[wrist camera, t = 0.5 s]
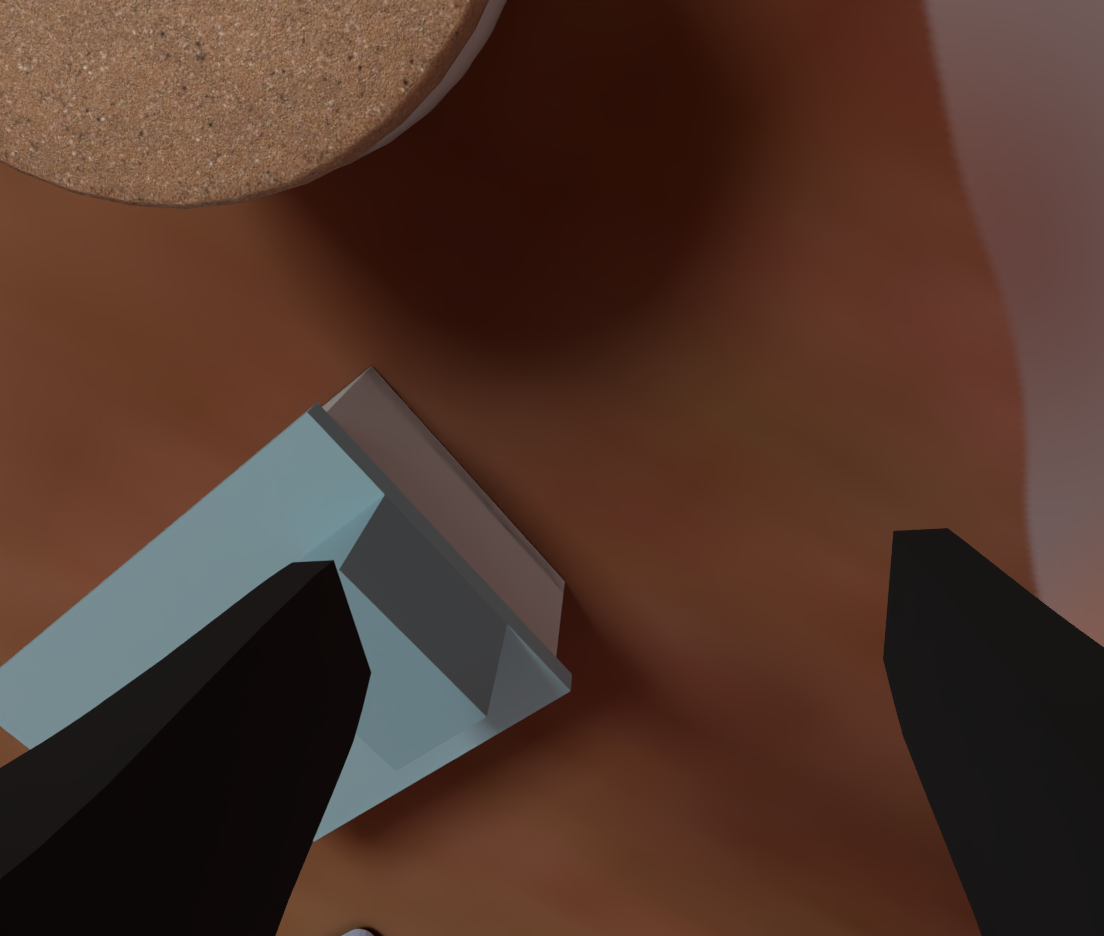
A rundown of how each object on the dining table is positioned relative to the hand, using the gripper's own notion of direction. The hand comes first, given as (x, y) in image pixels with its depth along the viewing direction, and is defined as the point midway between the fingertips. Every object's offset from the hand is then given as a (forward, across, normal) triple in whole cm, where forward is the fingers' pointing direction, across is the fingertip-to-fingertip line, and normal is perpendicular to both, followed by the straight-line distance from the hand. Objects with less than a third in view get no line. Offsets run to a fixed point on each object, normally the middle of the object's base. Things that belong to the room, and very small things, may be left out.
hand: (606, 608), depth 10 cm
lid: (+6, +9, +6) cm, 13 cm away
